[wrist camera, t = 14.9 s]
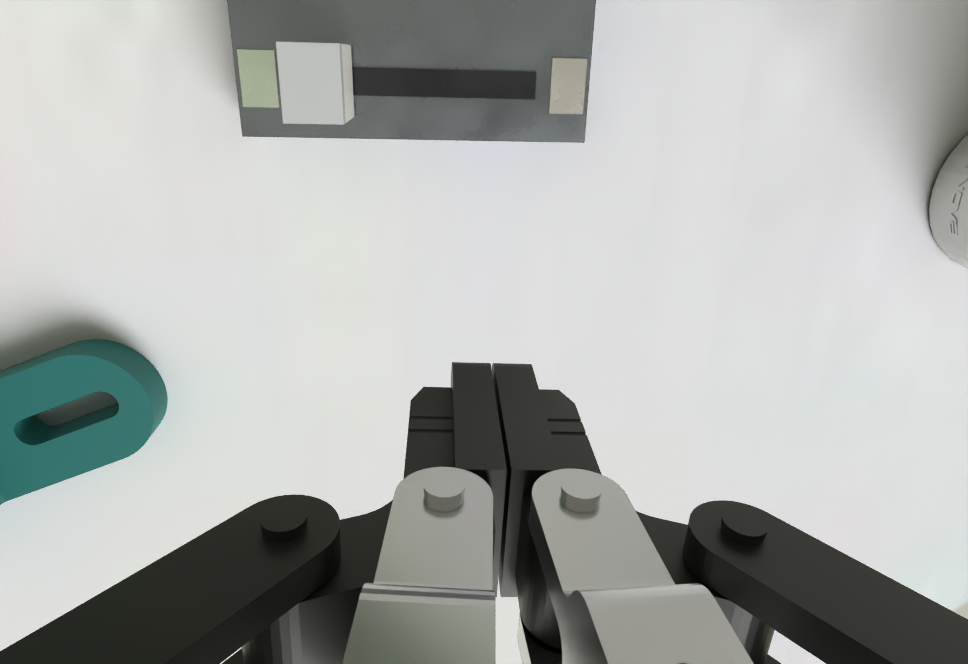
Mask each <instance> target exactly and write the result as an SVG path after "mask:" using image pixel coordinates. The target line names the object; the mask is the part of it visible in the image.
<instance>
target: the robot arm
mask: <svg viewBox="0 0 968 664" xmlns="http://www.w3.org/2000/svg"><path fill="white" fill-rule="evenodd" d="M929 213H930V226H931V230H932V233H933V237H934V239H935V241H936V242H937V244H938V246H939V248H940V249H941V251H943V252H944V253H945V254H946V255H947V256H948V257H949V258H950V259H951V260H953V261H955V262H957V263H959V264H961V265H963V266H965V267H967V268H968V135H967V136H966V137H964V138H963V139H962V140H961V142H960V143H959V144H958V145H957V146H956V148H955V149H954V150H953V151H952V152H951V154H950V155H949V157H948V158H947V160H946V162H945V163H944V165H943V167H942V168H941V170H940V172H939V174H938V177H937V179H936V182H935V185H934V187H933V190H932V195H931V201H930V206H929ZM498 575H499V584H500V593H501V597H518V600H519V607H520V616H519V626H518V636H517V639H518V646H519V650H520V655H521V659H522V664H781V663H780V662H778V661H777V660H775V659H774V658H772V657H771V656H769V655H768V654H767V653H768V650H769V647H770V643H771V640H772V636H773V633H774V630H776V631H777V632H779V633H781V634H782V635H784V636H785V637H787V638H788V639H790V640H791V641H793V642H794V643H796V644H797V645H799V646H800V647H802V648H803V649H805V650H806V651H808V652H810V653H811V654H813V655H814V656H816V657H817V658H819V659H820V660H822V661H823V662H825V663H826V664H968V619H966V618H964V617H962V616H960V615H958V614H956V613H955V612H953V611H951V610H949V609H947V608H945V607H943V606H941V605H940V604H938V603H936V602H934V601H932V600H930V599H928V598H926V597H925V596H923V595H921V594H919V593H917V592H915V591H913V590H911V589H910V588H908V587H906V586H904V585H902V584H900V583H898V582H896V581H895V580H893V579H891V578H889V577H887V576H885V575H883V574H881V573H880V572H878V571H876V570H874V569H872V568H870V567H868V566H866V565H865V564H863V563H861V562H859V561H857V560H855V559H853V558H851V557H850V556H848V555H846V554H844V553H842V552H840V551H838V550H836V549H835V548H833V547H831V546H829V545H827V544H825V543H823V542H821V541H820V540H818V539H816V538H814V537H812V536H810V535H808V534H806V533H804V532H803V531H801V530H799V529H797V528H795V527H793V526H791V525H789V524H788V523H786V522H784V521H782V520H780V519H778V518H776V517H774V516H773V515H771V514H769V513H767V512H765V511H763V510H761V509H759V508H756V507H753V506H750V505H747V504H743V503H739V502H734V501H711V502H707V503H703V504H701V505H699V506H697V507H696V508H695V509H694V510H693V511H692V513H691V515H690V519H689V523H688V525H686V524H681V523H677V522H672V521H668V520H663V519H659V518H655V517H651V516H648V515H645V514H642V513H639V512H637V511H635V509H634V507H633V505H632V504H631V502H630V500H629V498H628V496H627V494H626V493H625V491H624V490H623V489H622V488H621V487H620V486H619V485H618V484H617V483H615V482H614V481H613V480H611V479H609V478H608V477H606V476H603V475H602V474H601V472H600V469H599V466H598V464H597V461H596V459H595V456H594V453H593V451H592V448H591V445H590V443H589V440H588V437H587V435H585V430H584V427H583V424H582V422H581V419H580V416H579V414H578V411H577V408H576V406H575V404H574V403H573V402H572V401H571V400H570V399H569V398H567V397H566V396H565V395H564V394H563V393H562V392H560V391H559V390H539V389H538V385H537V382H536V378H535V375H534V371H533V368H532V365H531V364H502V363H493V365H492V370H491V364H490V363H459V362H452V371H451V388H444V387H423V388H422V389H421V390H420V391H419V392H418V393H417V395H416V396H415V397H414V398H413V399H412V400H411V405H410V417H409V427H408V438H407V448H406V459H405V470H404V479H403V480H402V481H401V482H400V483H399V485H398V486H397V488H396V490H395V493H394V498H393V500H392V501H391V502H390V503H388V504H387V505H385V506H384V507H382V508H380V509H378V510H376V511H373V512H370V513H368V514H364V515H360V516H356V517H351V518H347V519H342V520H339V516H338V514H337V512H336V510H335V509H334V508H333V507H332V506H331V505H329V504H328V503H327V502H325V501H323V500H321V499H318V498H315V497H311V496H305V495H283V496H277V497H273V498H269V499H266V500H263V501H260V502H258V503H256V504H254V505H252V506H250V507H248V508H247V509H245V510H243V511H241V512H240V513H238V514H236V515H234V516H233V517H231V518H229V519H228V520H226V521H224V522H222V523H221V524H219V525H217V526H215V527H214V528H212V529H210V530H209V531H207V532H205V533H203V534H202V535H200V536H198V537H197V538H195V539H193V540H191V541H190V542H188V543H186V544H184V545H183V546H181V547H179V548H178V549H176V550H174V551H172V552H171V553H169V554H167V555H166V556H164V557H162V558H160V559H159V560H157V561H155V562H153V563H152V564H150V565H148V566H147V567H145V568H143V569H141V570H140V571H138V572H136V573H135V574H133V575H131V576H129V577H128V578H126V579H124V580H122V581H121V582H119V583H117V584H116V585H114V586H112V587H110V588H109V589H107V590H105V591H104V592H102V593H100V594H98V595H97V596H95V597H93V598H91V599H90V600H88V601H86V602H85V603H83V604H81V605H79V606H78V607H76V608H74V609H73V610H71V611H69V612H67V613H66V614H64V615H62V616H60V617H59V618H57V619H55V620H54V621H52V622H50V623H48V624H47V625H45V626H43V627H41V628H40V629H38V630H36V631H35V632H33V633H31V634H29V635H28V636H26V637H24V638H23V639H21V640H19V641H17V642H16V643H14V644H12V645H10V646H9V647H7V648H5V649H4V650H2V651H0V664H220V663H221V662H222V661H224V660H225V659H226V658H227V657H229V656H230V655H231V654H233V653H234V652H235V651H237V650H238V649H239V648H241V647H242V649H240V650H239V651H238V652H236V653H235V654H234V655H233V656H231V657H230V658H229V659H227V660H226V661H225V662H223V663H222V664H495V597H497V585H498Z"/></svg>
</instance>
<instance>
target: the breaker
mask: <svg viewBox="0 0 968 664" xmlns="http://www.w3.org/2000/svg"><path fill="white" fill-rule="evenodd" d="M276 49H277V60H278V72H279V83H280V95H281V106H282V117H283V123H285V124H336V125H344V124H345V123H347V122H348V121H349V120H351V119H352V118H353V117H354V98H353V77H352V56H351V45H347V44H340V43H307V42H276Z"/></svg>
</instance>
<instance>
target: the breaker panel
mask: <svg viewBox="0 0 968 664" xmlns="http://www.w3.org/2000/svg"><path fill="white" fill-rule="evenodd" d="M227 2H228V11H229V20H230V29H231V38H232V47H233V56H234V65H235V74H236V83H237V92H238V101H239V110H240V119H241V128H242V136H248V137H303V138H359V139H414V140H469V141H524V142H579V143H584V141H585V129H586V117H587V104H588V92H589V79H590V67H591V55H592V42H593V30H594V18H595V5H596V0H227ZM276 42H307V43H340V44H347V45H351V56H352V77H353V98H354V117H353V118H352V119H351V120H349V121H348V122H347V123H345V124H344V125H336V124H285V123H283V117H282V106H281V95H280V83H279V72H278V60H277V49H276Z"/></svg>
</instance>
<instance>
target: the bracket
mask: <svg viewBox="0 0 968 664" xmlns="http://www.w3.org/2000/svg"><path fill="white" fill-rule="evenodd" d="M94 392H106V393H109V394H111V395H112V396H113V397H114V398H115V399H116V400H117V402H118V403H117V404H115V405H112V406H109V407H107V408H104V409H101V410H99V411H96V412H93V413H90V414H88V415H85V416H82V417H80V418H77V419H74V420H72V421H69V422H66V423H64V424H61V425H58V426H48V425H45V424H43V423H41V422H40V421H39V420H38V419H37V417H36V414H38V413H41V412H44V411H46V410H49V409H52V408H54V407H57V406H60V405H62V404H65V403H68V402H70V401H73V400H76V399H78V398H81V397H84V396H86V395H89V394H92V393H94ZM166 409H167V392H166V387H165V385H164V382H163V380H162V378H161V376H160V374H159V373H158V371H157V370H156V368H155V367H154V366H153V365H152V364H151V363H150V362H149V361H148V360H147V359H146V358H145V357H144V356H142V355H141V354H139V353H138V352H136V351H135V350H133V349H131V348H129V347H127V346H125V345H122V344H119V343H116V342H113V341H107V340H99V339H92V340H83V341H78V342H75V343H72V344H70V345H67V346H64V347H62V348H59V349H57V350H54V351H51V352H49V353H46V354H43V355H41V356H38V357H36V358H33V359H30V360H28V361H25V362H22V363H20V364H17V365H15V366H12V367H9V368H7V369H4V370H1V371H0V505H1V504H2V503H4V502H6V501H8V500H11V499H14V498H17V497H19V496H22V495H25V494H28V493H30V492H33V491H36V490H39V489H41V488H44V487H47V486H50V485H52V484H55V483H58V482H61V481H63V480H66V479H69V478H72V477H74V476H77V475H80V474H83V473H85V472H88V471H91V470H94V469H96V468H99V467H102V466H105V465H107V464H110V463H113V462H116V461H118V460H121V459H124V458H126V457H128V456H130V455H132V454H134V453H135V452H137V451H138V450H139V449H140V448H141V447H142V446H143V445H144V444H145V443H146V441H147V440H148V439H149V437H150V436H151V435H152V433H153V432H154V431H155V429H156V428H157V427H158V425H159V424H160V423H161V421H162V419H163V417H164V415H165V412H166Z"/></svg>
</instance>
